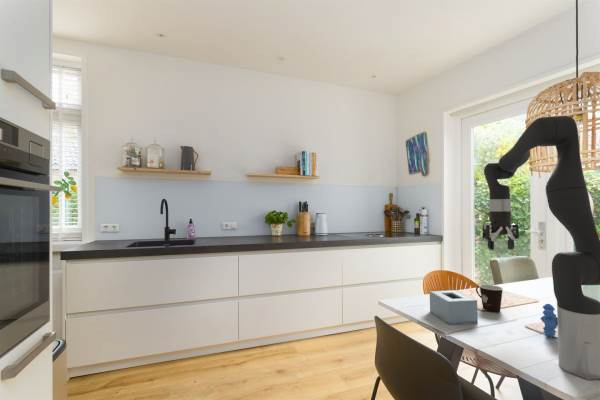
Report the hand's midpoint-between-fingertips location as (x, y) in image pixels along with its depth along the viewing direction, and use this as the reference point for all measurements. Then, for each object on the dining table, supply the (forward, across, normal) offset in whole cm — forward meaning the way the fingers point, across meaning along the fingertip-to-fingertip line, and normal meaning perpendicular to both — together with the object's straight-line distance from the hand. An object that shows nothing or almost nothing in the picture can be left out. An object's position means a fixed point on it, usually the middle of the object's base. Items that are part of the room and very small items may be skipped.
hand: (501, 249), depth 122 cm
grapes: (+28, +3, -19) cm, 34 cm away
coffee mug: (+28, +2, +10) cm, 30 cm away
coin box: (+28, -20, +3) cm, 35 cm away
